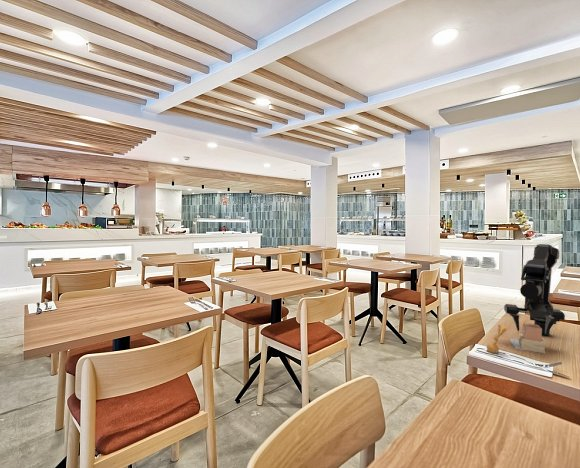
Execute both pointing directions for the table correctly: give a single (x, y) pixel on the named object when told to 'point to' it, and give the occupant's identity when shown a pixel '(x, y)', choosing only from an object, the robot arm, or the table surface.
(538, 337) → the top brick
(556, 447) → the table surface
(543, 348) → the base brick
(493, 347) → the figurine
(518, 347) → the build plate
